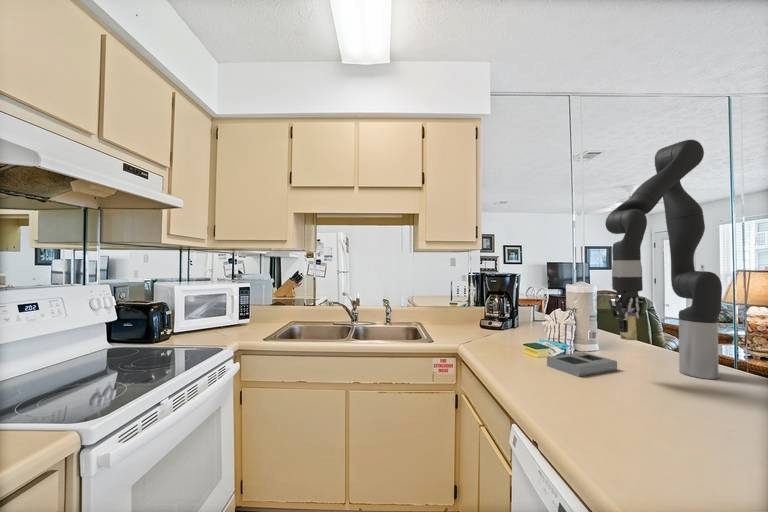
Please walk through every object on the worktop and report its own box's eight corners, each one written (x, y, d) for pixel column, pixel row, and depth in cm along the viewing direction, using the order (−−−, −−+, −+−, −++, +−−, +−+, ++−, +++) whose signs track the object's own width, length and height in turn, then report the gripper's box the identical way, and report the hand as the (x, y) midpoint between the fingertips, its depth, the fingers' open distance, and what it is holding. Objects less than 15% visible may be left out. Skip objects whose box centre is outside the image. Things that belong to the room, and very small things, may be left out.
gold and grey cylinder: (625, 336, 105) (625, 311, 105) (639, 339, 101) (638, 312, 101) (617, 338, 103) (616, 312, 103) (631, 340, 99) (630, 313, 100)
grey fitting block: (583, 360, 122) (583, 352, 122) (617, 370, 110) (617, 361, 111) (546, 365, 115) (546, 357, 115) (579, 376, 104) (579, 367, 104)
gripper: (628, 274, 109) (630, 327, 108) (599, 275, 103) (600, 331, 103) (654, 275, 102) (656, 331, 101) (624, 276, 96) (626, 336, 96)
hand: (628, 331), depth 102 cm, fingers closed on gold and grey cylinder, 4 cm apart
